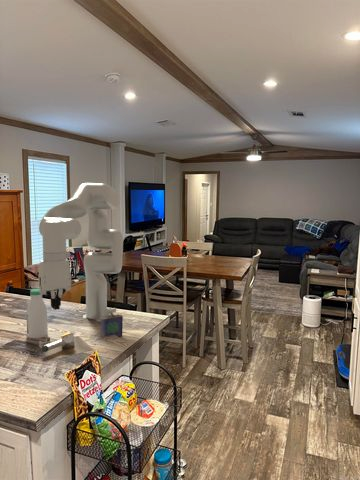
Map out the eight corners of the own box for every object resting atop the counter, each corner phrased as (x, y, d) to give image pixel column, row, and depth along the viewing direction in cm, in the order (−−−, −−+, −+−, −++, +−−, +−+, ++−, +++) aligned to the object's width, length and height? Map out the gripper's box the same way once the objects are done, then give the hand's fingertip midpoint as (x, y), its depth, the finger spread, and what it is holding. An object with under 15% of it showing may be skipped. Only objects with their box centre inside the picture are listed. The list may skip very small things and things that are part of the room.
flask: (101, 341, 144) (101, 315, 142) (99, 338, 146) (99, 313, 145) (123, 336, 148) (123, 311, 147) (120, 334, 151) (121, 309, 150)
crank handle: (69, 342, 137) (69, 330, 137) (77, 345, 135) (77, 333, 134) (38, 354, 127) (37, 341, 126) (45, 358, 124) (45, 344, 124)
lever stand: (78, 339, 144) (78, 328, 144) (93, 353, 133) (93, 340, 132) (37, 349, 135) (36, 336, 134) (49, 364, 123) (49, 351, 122)
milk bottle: (51, 335, 147) (50, 288, 145) (38, 343, 140) (37, 293, 137) (36, 333, 150) (35, 286, 147) (22, 339, 143) (21, 291, 140)
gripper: (72, 253, 130) (72, 302, 132) (28, 256, 121) (30, 309, 123) (80, 256, 124) (80, 307, 126) (35, 260, 115) (36, 315, 117)
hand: (55, 308), depth 125 cm, fingers closed
